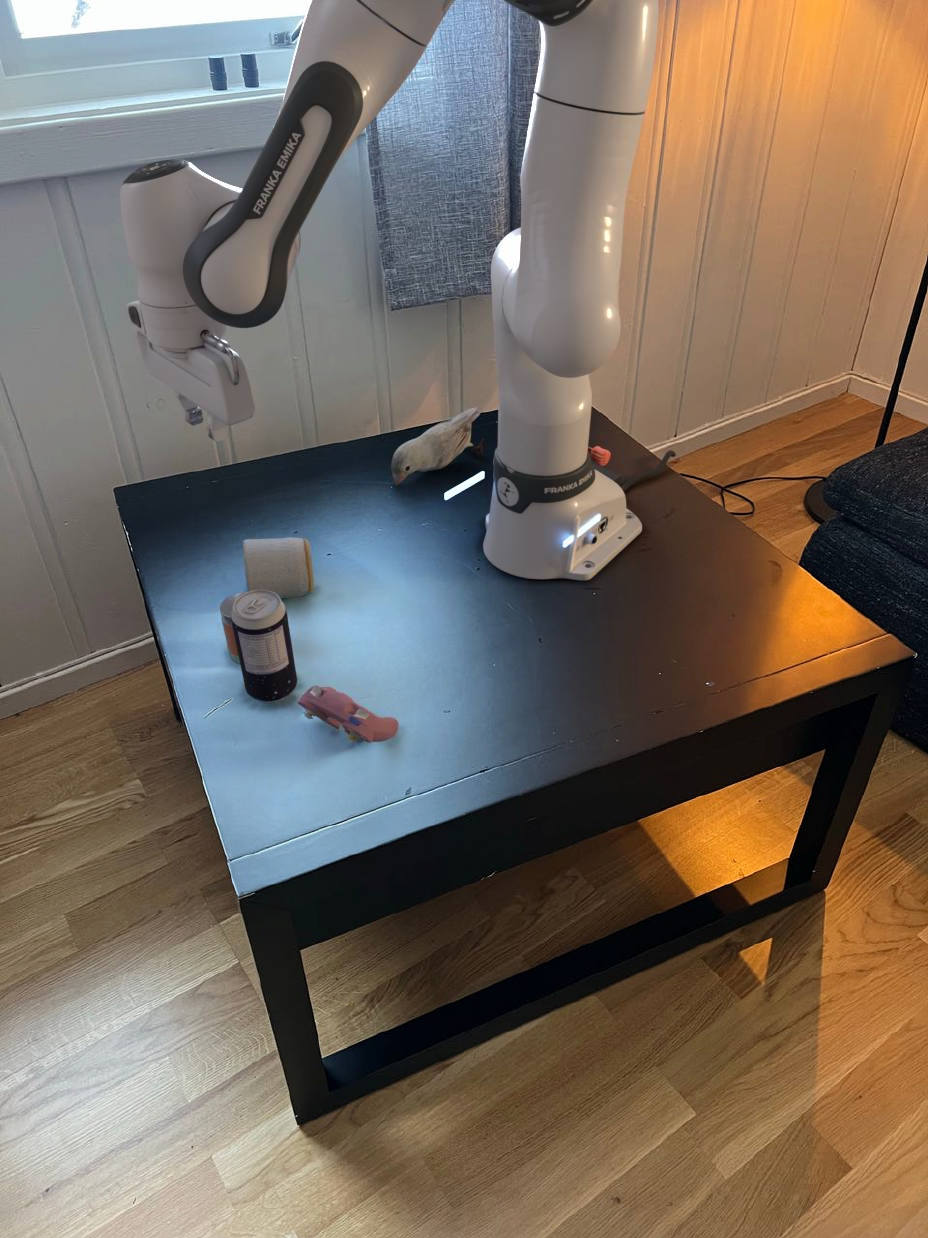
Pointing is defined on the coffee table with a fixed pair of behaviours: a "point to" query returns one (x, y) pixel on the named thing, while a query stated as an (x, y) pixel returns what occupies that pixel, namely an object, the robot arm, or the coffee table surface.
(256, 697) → the beverage can
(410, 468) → the decorative bird
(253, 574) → the ceramic mug
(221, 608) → the food tin
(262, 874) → the coffee table surface
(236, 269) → the robot arm
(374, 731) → the red toy car
